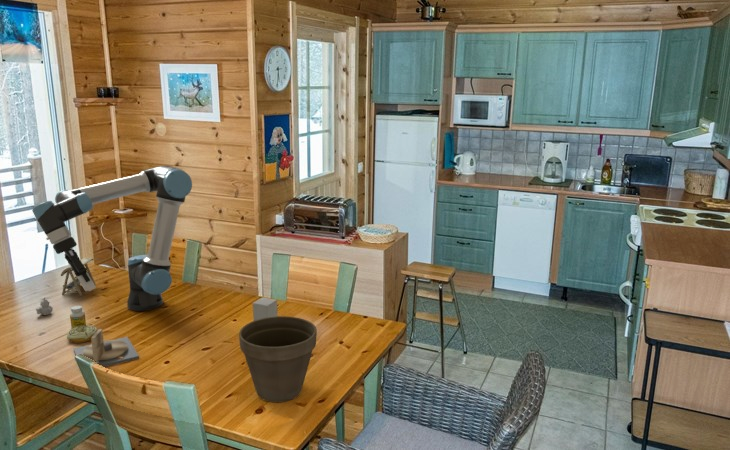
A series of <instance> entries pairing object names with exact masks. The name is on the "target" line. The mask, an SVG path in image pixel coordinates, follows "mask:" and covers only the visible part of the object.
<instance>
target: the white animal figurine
mask: <svg viewBox="0 0 730 450" xmlns="http://www.w3.org/2000/svg"><path fill="white" fill-rule="evenodd" d="M39 304H40V306H39V307H37V308H36V309H35V311H36V314H37V315H44V316H47V315H50V314H51V313H52V312H53V306H51V305H50V301H49V300H48V299H46V297H44V298H42V299H41V301H40V303H39Z"/></svg>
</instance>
